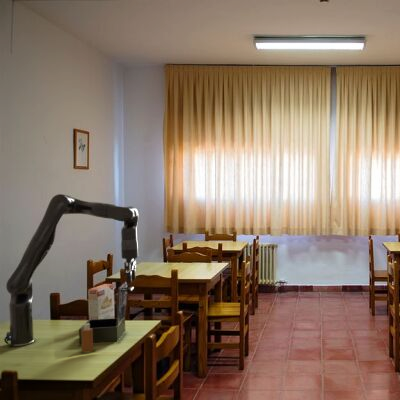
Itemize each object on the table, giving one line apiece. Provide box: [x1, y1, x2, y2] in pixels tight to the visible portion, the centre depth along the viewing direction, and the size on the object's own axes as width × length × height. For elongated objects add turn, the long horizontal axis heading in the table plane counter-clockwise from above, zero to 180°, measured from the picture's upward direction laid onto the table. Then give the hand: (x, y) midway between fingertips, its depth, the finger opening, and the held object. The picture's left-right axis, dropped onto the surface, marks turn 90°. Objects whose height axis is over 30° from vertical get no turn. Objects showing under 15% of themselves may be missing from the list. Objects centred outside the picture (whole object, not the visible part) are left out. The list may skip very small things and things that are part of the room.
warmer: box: [78, 317, 126, 345], centre depth 240 cm, size 17×16×8 cm
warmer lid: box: [115, 281, 135, 326], centre depth 241 cm, size 18×16×5 cm
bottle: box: [81, 323, 94, 353], centre depth 223 cm, size 5×5×12 cm
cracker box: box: [87, 283, 115, 320], centre depth 262 cm, size 14×6×21 cm, turn 168°
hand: (131, 281), depth 241 cm, fingers open, 8 cm apart
